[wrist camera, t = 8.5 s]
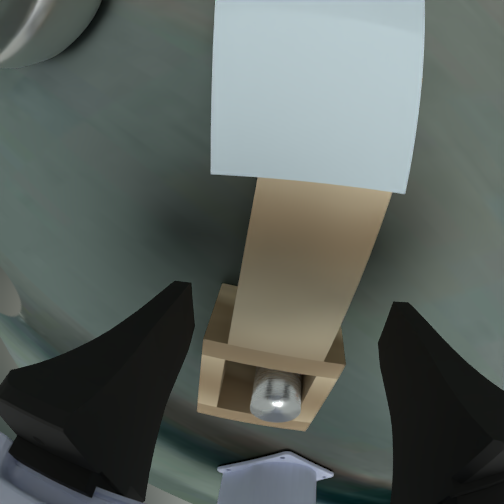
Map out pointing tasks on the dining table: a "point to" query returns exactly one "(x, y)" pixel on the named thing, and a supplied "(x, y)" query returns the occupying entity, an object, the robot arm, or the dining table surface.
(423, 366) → the robot arm
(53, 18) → the plastic bottle
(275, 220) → the link
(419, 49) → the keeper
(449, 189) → the dining table surface
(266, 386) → the pintle
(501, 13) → the dining table surface
